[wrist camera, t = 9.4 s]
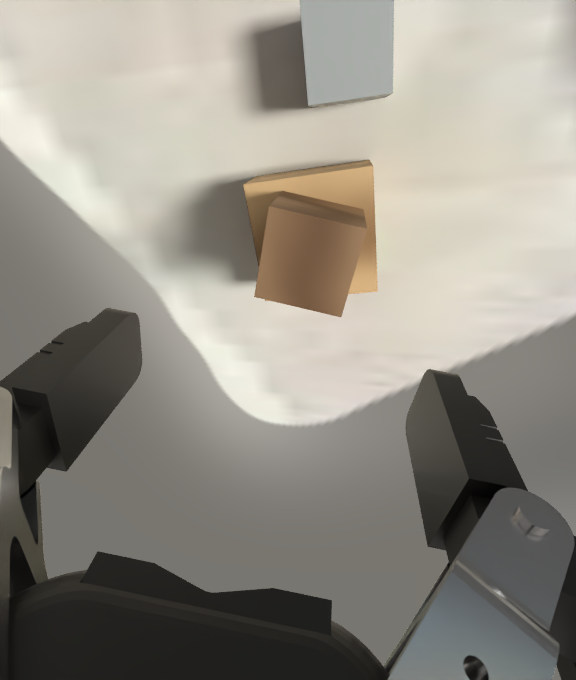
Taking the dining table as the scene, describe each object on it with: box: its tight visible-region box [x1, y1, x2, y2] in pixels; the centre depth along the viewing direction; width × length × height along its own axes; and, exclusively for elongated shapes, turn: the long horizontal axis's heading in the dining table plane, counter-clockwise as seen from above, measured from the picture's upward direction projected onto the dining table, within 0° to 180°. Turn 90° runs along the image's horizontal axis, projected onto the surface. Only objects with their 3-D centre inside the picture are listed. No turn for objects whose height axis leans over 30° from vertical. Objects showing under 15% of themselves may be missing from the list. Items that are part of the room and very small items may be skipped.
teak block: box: [243, 160, 378, 301], centre depth 24 cm, size 7×7×4 cm
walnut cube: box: [254, 191, 367, 317], centre depth 20 cm, size 4×4×4 cm
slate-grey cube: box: [300, 0, 394, 108], centre depth 19 cm, size 4×4×4 cm
